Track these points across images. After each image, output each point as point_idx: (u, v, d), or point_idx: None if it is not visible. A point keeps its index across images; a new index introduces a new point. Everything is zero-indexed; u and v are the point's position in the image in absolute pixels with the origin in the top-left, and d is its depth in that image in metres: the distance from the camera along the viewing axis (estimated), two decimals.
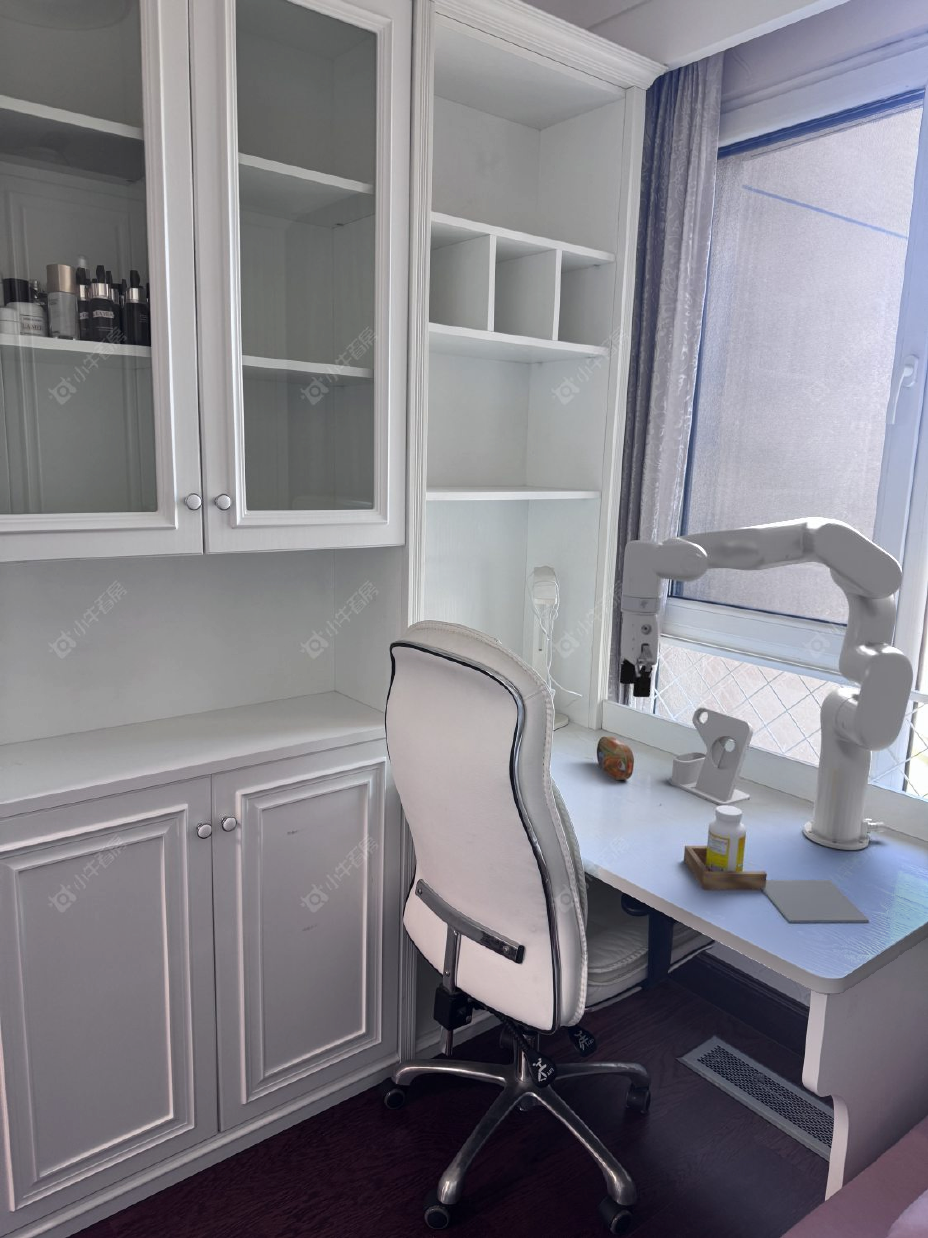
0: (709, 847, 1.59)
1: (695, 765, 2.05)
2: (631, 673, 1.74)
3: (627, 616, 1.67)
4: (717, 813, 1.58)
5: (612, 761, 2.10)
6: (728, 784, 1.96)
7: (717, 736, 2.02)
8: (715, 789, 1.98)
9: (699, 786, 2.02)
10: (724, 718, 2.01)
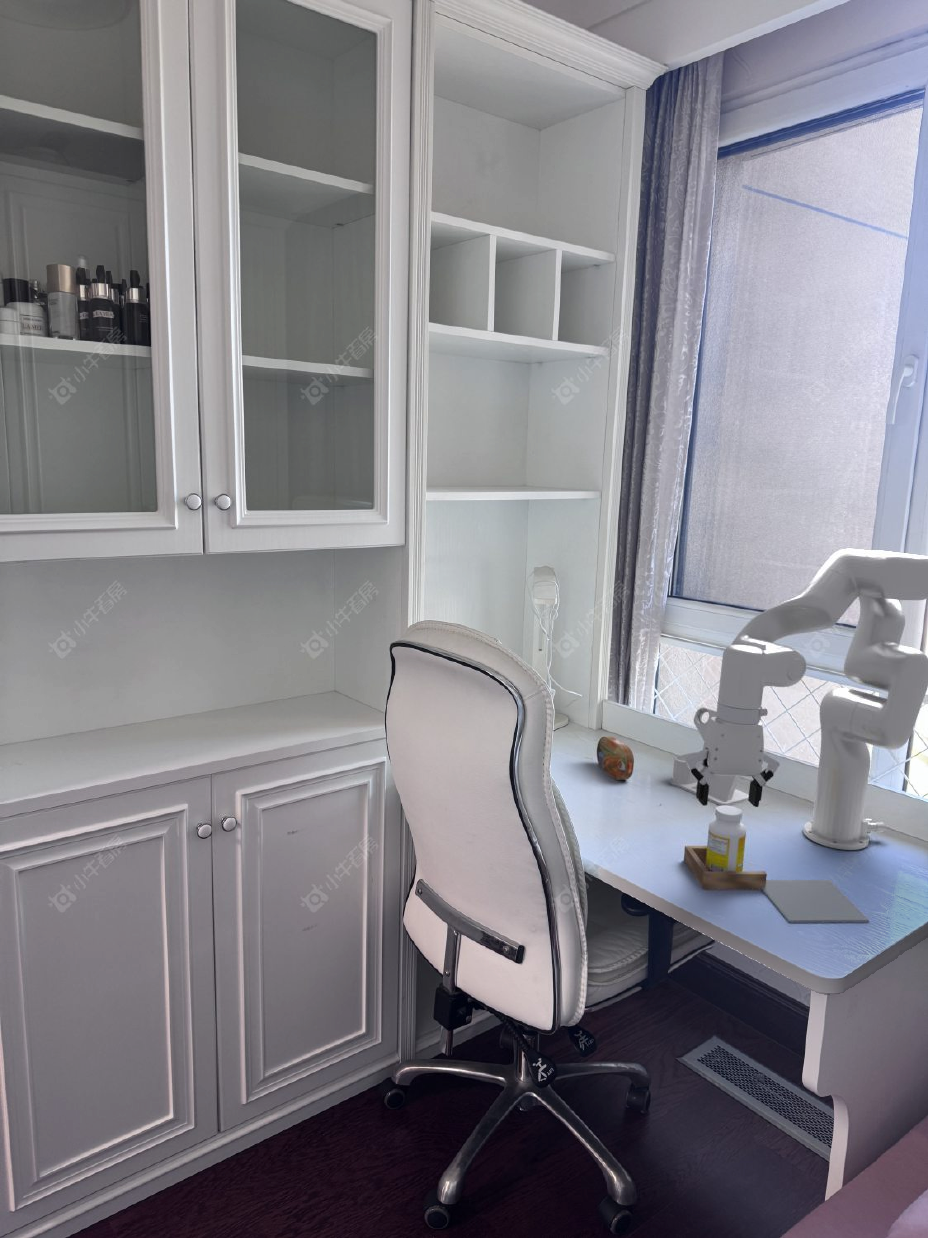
0: (709, 847, 1.59)
1: (696, 765, 2.05)
2: None
3: (743, 730, 1.53)
4: (717, 813, 1.58)
5: (612, 761, 2.10)
6: (728, 784, 1.96)
7: None
8: (716, 789, 1.98)
9: None
10: None
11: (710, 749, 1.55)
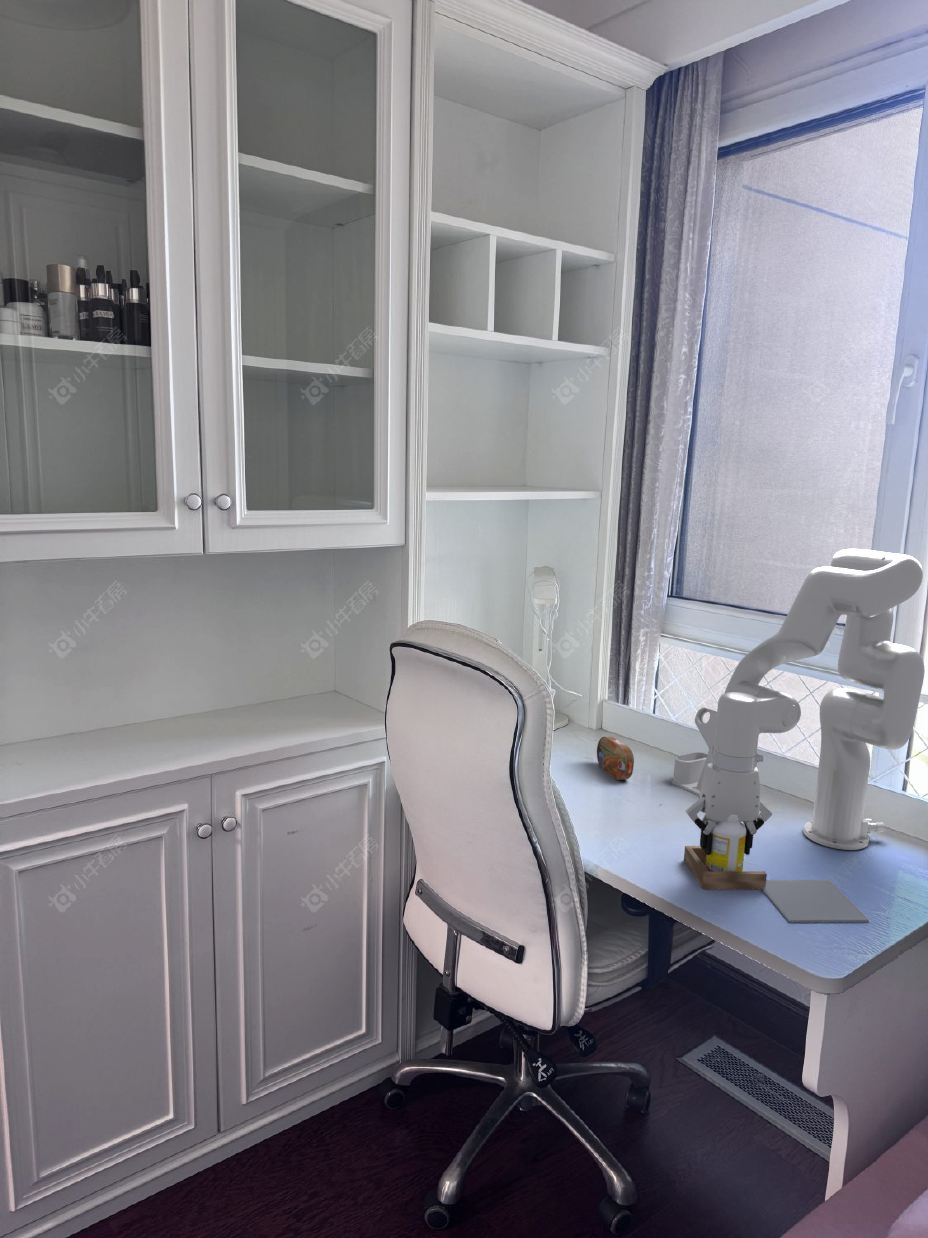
0: None
1: (697, 765, 2.05)
2: None
3: (739, 777, 1.55)
4: None
5: (612, 761, 2.10)
6: None
7: None
8: None
9: (700, 786, 2.02)
10: None
11: (707, 796, 1.57)
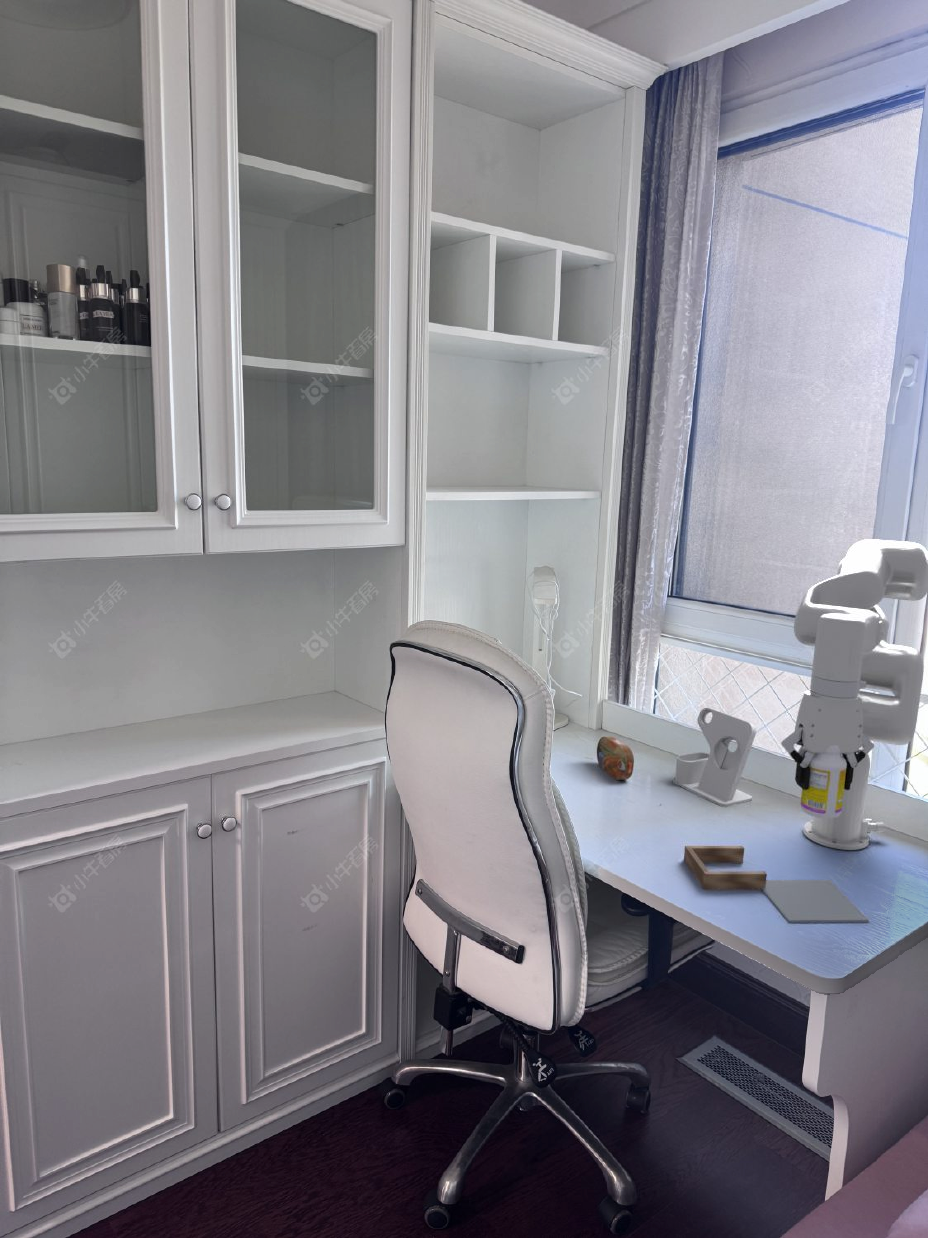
0: None
1: (699, 765, 2.05)
2: None
3: (841, 704, 1.43)
4: None
5: (612, 761, 2.10)
6: (729, 785, 1.96)
7: (720, 736, 2.01)
8: (717, 789, 1.98)
9: (702, 786, 2.02)
10: (728, 718, 2.01)
11: (805, 726, 1.45)
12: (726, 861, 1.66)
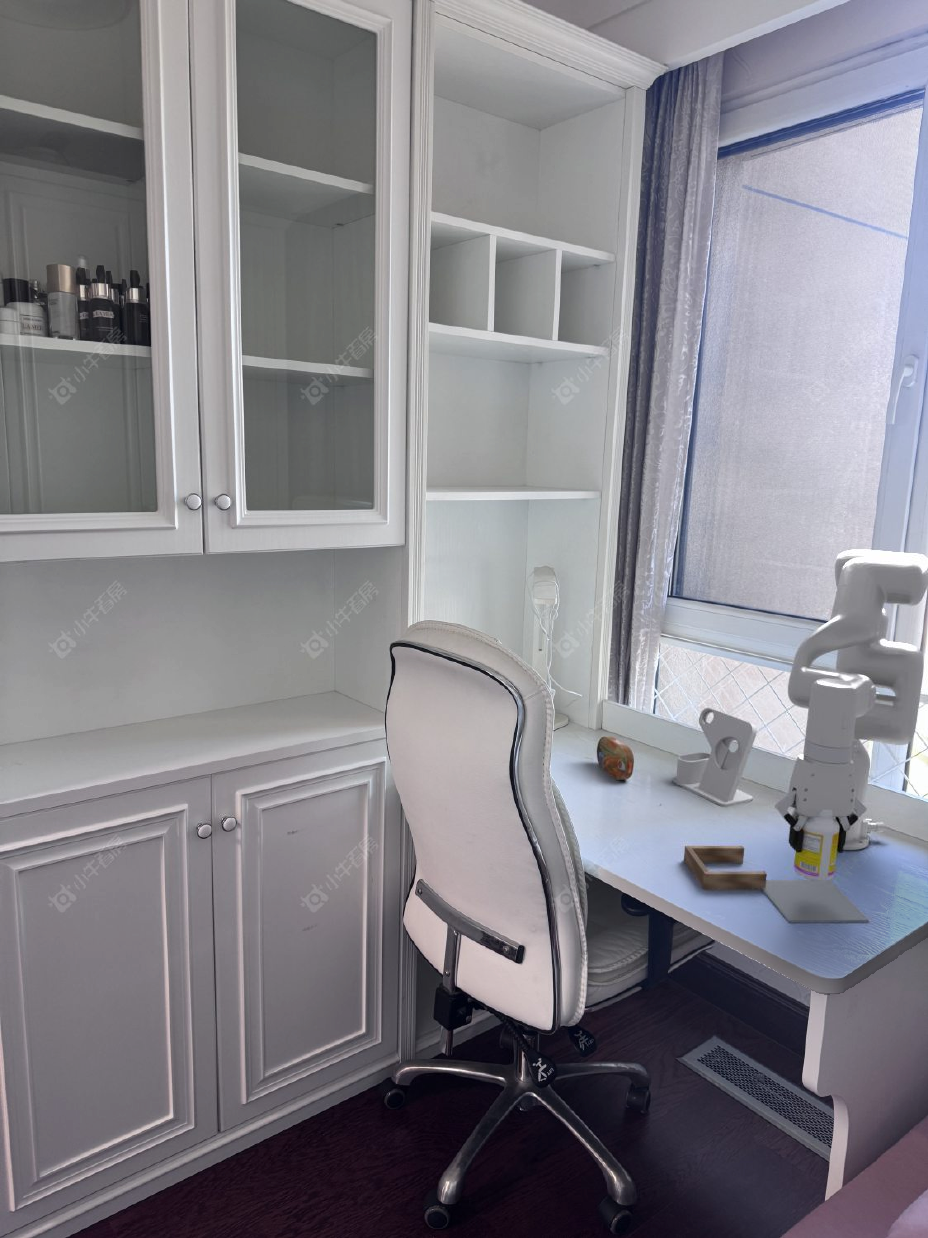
0: None
1: (699, 765, 2.05)
2: None
3: (834, 769, 1.45)
4: None
5: (612, 761, 2.10)
6: (730, 785, 1.95)
7: (721, 737, 2.01)
8: (717, 789, 1.98)
9: (702, 786, 2.02)
10: (729, 718, 2.01)
11: (798, 790, 1.47)
12: (726, 861, 1.66)
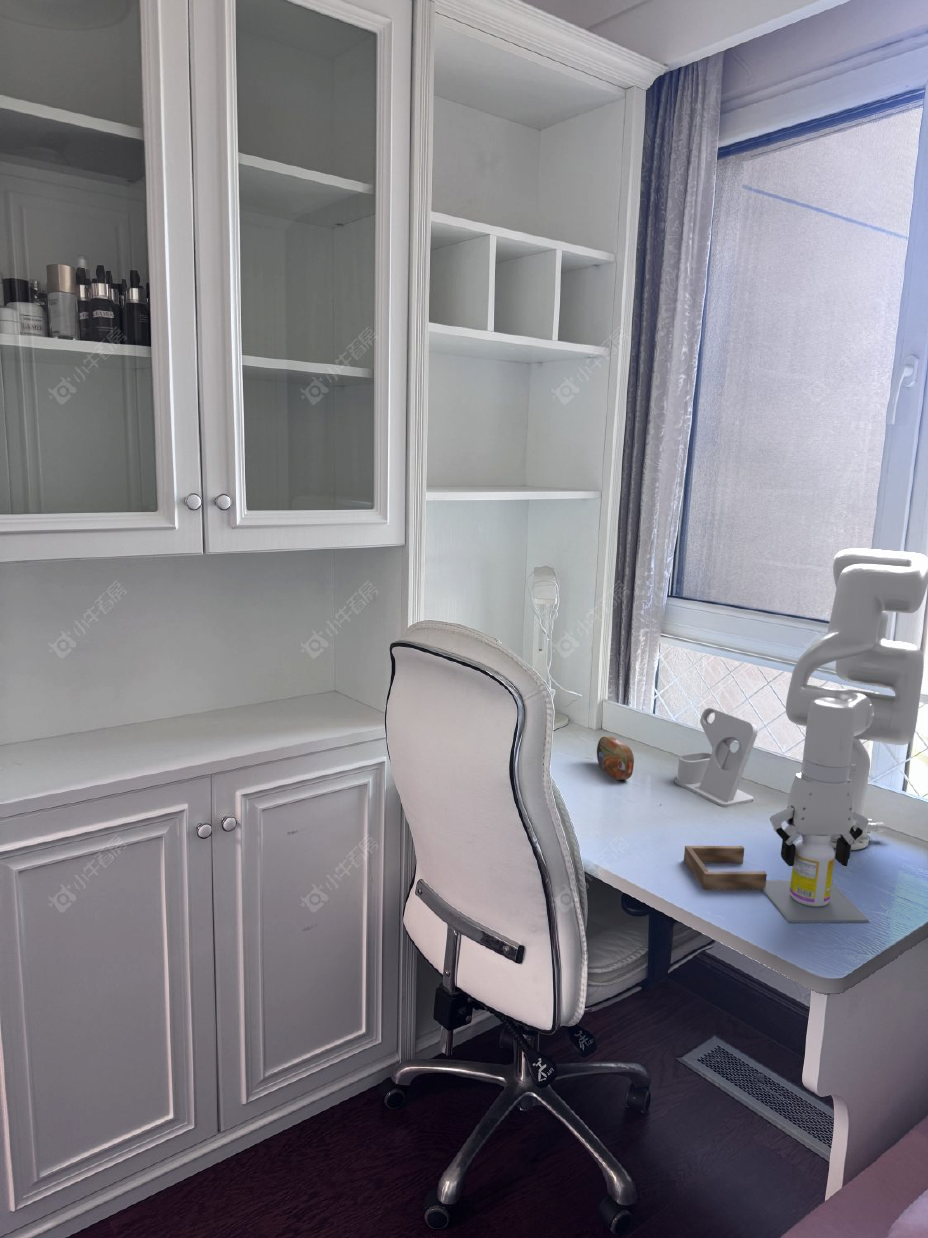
0: (795, 870, 1.50)
1: (701, 765, 2.05)
2: None
3: (832, 788, 1.46)
4: None
5: (612, 761, 2.10)
6: (730, 785, 1.95)
7: (722, 737, 2.01)
8: (718, 789, 1.98)
9: (703, 786, 2.02)
10: (730, 719, 2.01)
11: (796, 808, 1.47)
12: (726, 861, 1.66)
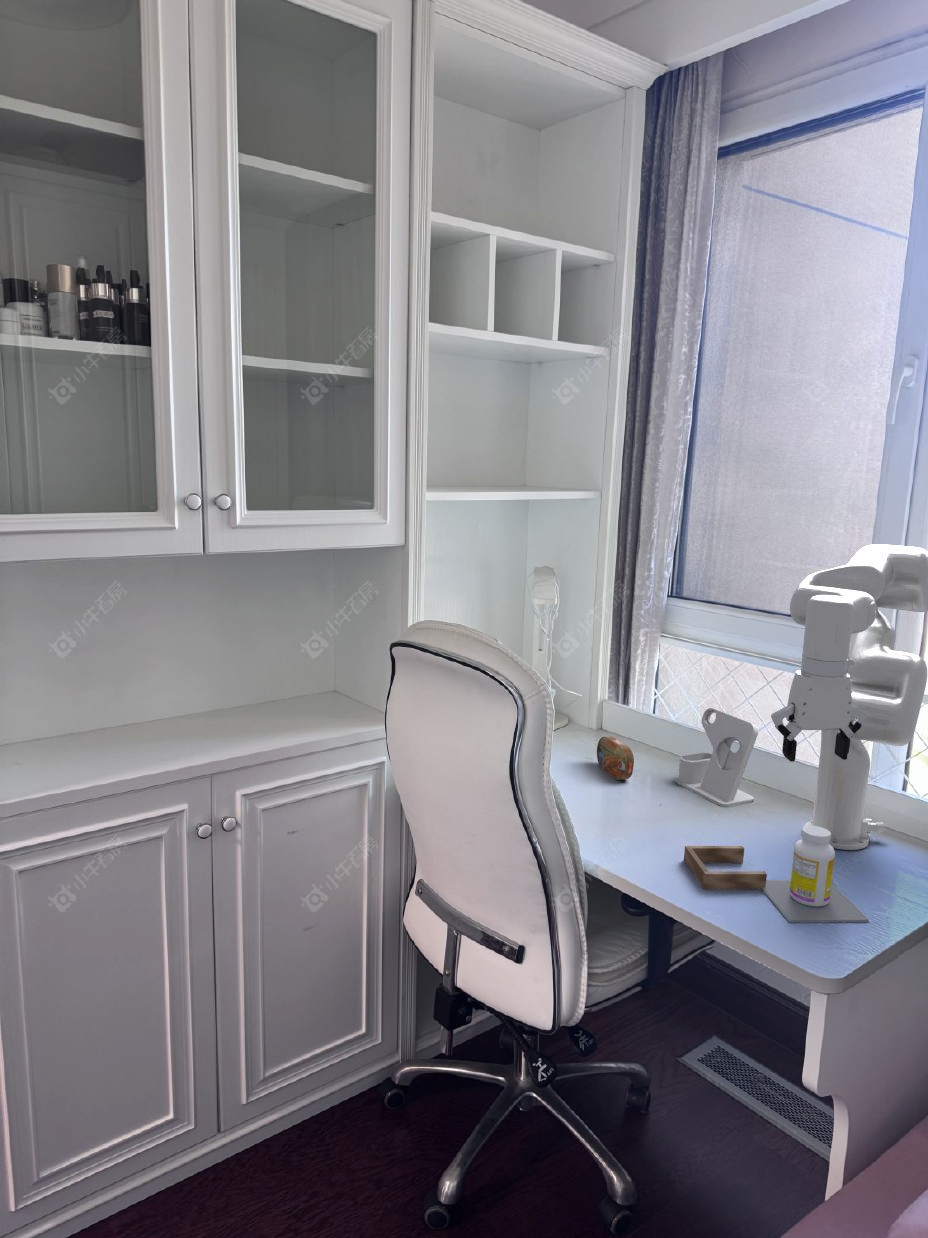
0: (795, 870, 1.50)
1: (701, 765, 2.05)
2: None
3: (831, 683, 1.49)
4: (804, 834, 1.49)
5: (612, 761, 2.10)
6: (730, 785, 1.95)
7: (723, 737, 2.01)
8: (718, 789, 1.98)
9: (704, 786, 2.02)
10: (731, 719, 2.01)
11: (797, 704, 1.50)
12: (726, 861, 1.66)
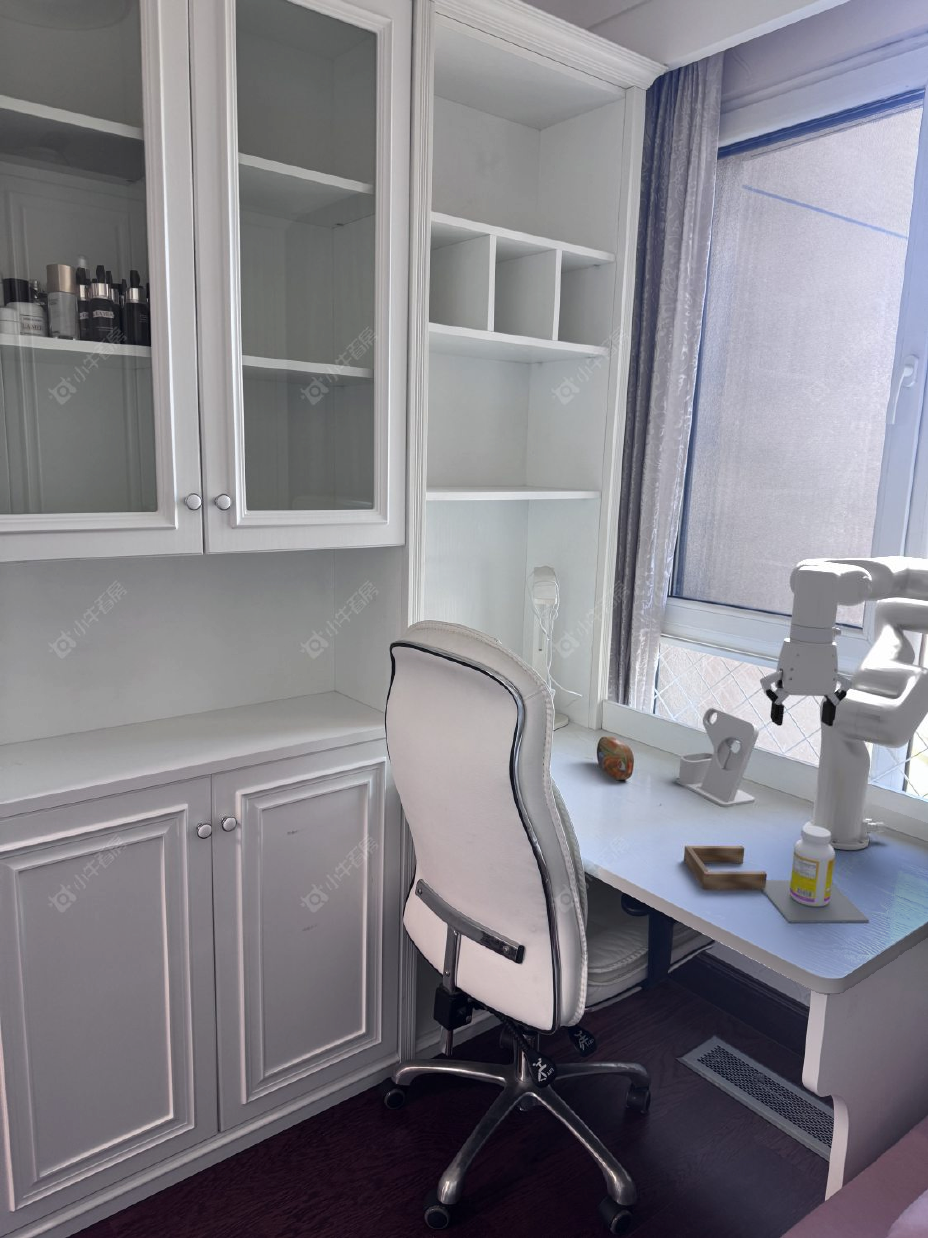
0: (795, 870, 1.50)
1: (702, 765, 2.05)
2: None
3: (818, 649, 1.56)
4: (804, 834, 1.49)
5: (612, 761, 2.10)
6: (731, 785, 1.95)
7: (724, 737, 2.01)
8: (719, 789, 1.98)
9: (704, 786, 2.02)
10: (731, 719, 2.01)
11: (785, 669, 1.57)
12: (726, 861, 1.66)
